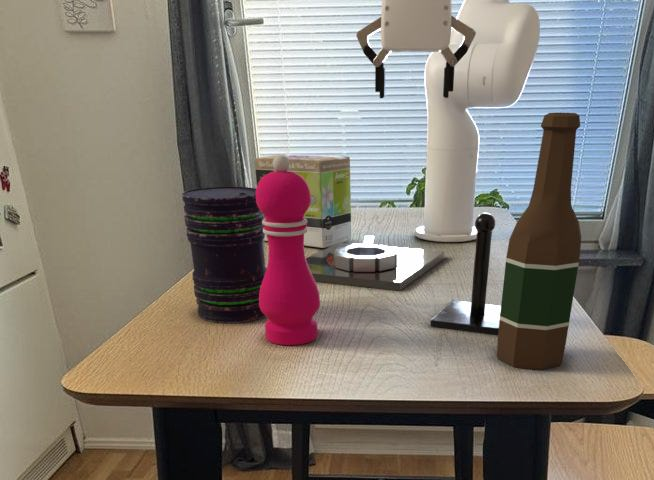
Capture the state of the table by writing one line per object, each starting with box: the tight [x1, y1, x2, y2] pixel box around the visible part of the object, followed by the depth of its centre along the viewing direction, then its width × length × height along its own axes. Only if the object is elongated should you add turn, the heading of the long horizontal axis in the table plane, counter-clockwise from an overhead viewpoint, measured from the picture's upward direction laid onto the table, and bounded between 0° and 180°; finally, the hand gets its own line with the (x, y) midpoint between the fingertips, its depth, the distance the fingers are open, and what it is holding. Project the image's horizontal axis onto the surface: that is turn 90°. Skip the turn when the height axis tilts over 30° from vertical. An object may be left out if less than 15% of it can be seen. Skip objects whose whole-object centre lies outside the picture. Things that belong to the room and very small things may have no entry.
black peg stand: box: [429, 212, 501, 336], centre depth 83 cm, size 10×10×13 cm
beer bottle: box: [496, 112, 582, 371], centre depth 68 cm, size 8×8×24 cm
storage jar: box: [181, 186, 267, 324], centre depth 86 cm, size 10×10×15 cm
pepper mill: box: [256, 154, 321, 346], centre depth 76 cm, size 7×7×20 cm
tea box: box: [254, 153, 352, 249], centre depth 125 cm, size 15×10×15 cm
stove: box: [306, 242, 446, 292], centre depth 110 cm, size 22×20×1 cm
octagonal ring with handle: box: [334, 235, 398, 272], centre depth 109 cm, size 17×10×2 cm, turn 177°
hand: (413, 97), depth 102 cm, fingers open, 9 cm apart
